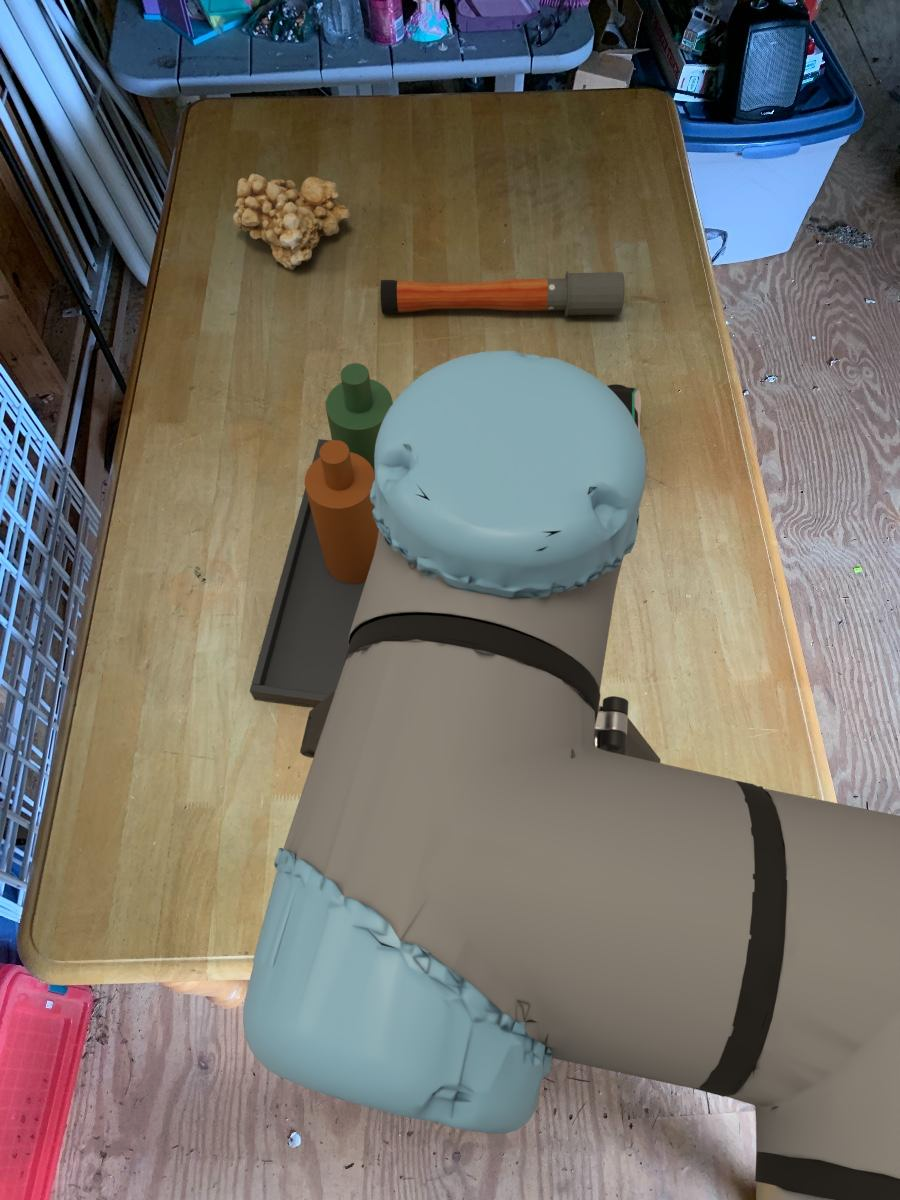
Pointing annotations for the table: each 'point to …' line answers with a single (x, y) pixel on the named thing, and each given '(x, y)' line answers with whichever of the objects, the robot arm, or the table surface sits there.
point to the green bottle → (357, 410)
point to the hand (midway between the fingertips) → (476, 792)
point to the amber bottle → (343, 511)
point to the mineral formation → (288, 215)
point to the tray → (305, 623)
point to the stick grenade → (511, 295)
